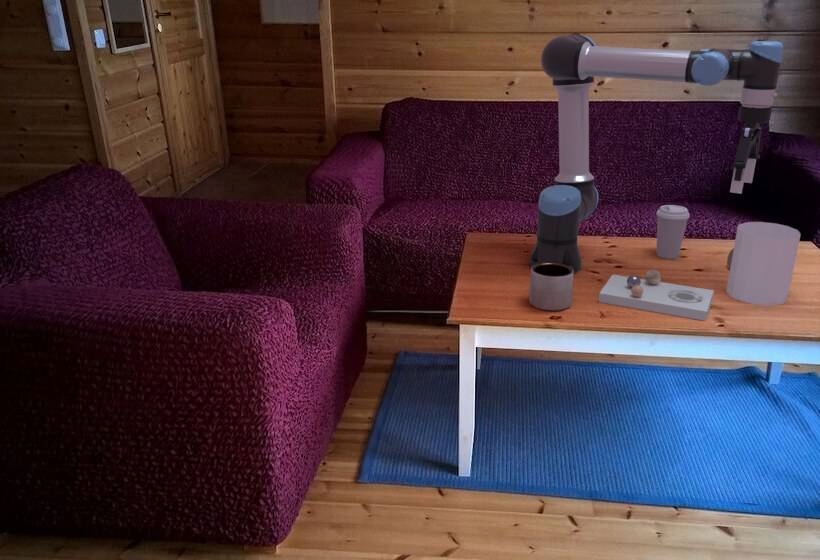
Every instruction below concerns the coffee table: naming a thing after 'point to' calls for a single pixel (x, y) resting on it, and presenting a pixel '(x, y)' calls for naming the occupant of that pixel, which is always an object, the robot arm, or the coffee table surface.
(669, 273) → the coffee table surface
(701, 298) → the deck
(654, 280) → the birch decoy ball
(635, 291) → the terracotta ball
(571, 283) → the planter
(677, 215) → the coffee cup
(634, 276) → the steel ball
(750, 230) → the container
